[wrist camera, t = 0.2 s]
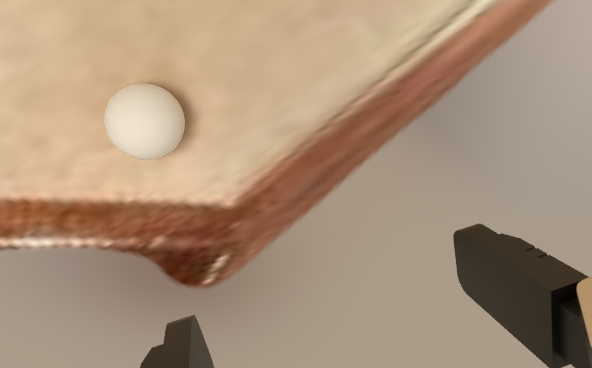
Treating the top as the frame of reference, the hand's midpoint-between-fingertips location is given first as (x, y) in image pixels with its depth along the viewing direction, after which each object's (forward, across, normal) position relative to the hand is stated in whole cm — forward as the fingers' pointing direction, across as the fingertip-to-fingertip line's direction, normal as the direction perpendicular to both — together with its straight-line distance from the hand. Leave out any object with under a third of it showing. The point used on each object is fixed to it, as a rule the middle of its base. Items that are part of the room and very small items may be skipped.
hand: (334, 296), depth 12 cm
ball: (+24, +8, -4) cm, 25 cm away
